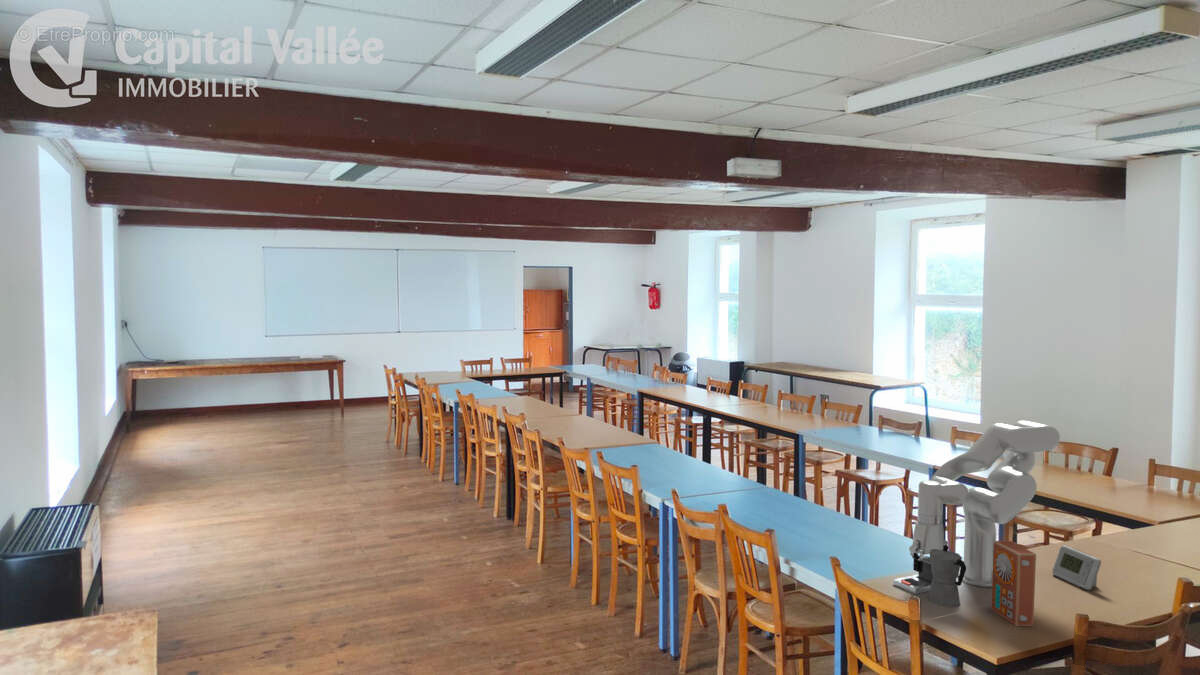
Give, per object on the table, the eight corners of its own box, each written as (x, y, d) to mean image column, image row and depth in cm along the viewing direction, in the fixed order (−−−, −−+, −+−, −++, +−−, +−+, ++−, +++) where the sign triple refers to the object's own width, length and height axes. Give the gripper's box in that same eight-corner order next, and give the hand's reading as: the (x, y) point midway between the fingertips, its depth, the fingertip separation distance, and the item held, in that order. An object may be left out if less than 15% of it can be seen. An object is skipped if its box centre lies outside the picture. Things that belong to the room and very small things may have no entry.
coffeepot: (917, 594, 246) (919, 539, 245) (942, 592, 248) (944, 537, 247) (950, 614, 231) (952, 555, 230) (976, 611, 233) (978, 553, 232)
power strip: (926, 578, 261) (927, 570, 261) (949, 587, 253) (949, 579, 253) (893, 585, 254) (893, 578, 253) (915, 594, 246) (915, 587, 245)
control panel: (1016, 628, 221) (986, 607, 236) (1039, 627, 222) (1007, 607, 236) (1019, 555, 220) (988, 539, 235) (1042, 555, 221) (1010, 539, 235)
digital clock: (1049, 573, 267) (1050, 544, 266) (1075, 574, 267) (1076, 544, 266) (1077, 591, 250) (1079, 559, 250) (1105, 592, 250) (1106, 560, 250)
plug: (925, 580, 258) (926, 555, 257) (937, 585, 253) (938, 560, 253) (917, 582, 256) (918, 557, 256) (930, 587, 252) (930, 561, 251)
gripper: (938, 512, 261) (936, 562, 262) (902, 518, 253) (900, 569, 254) (957, 518, 254) (955, 569, 255) (920, 524, 246) (919, 576, 247)
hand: (928, 569), depth 254 cm, fingers open, 9 cm apart
